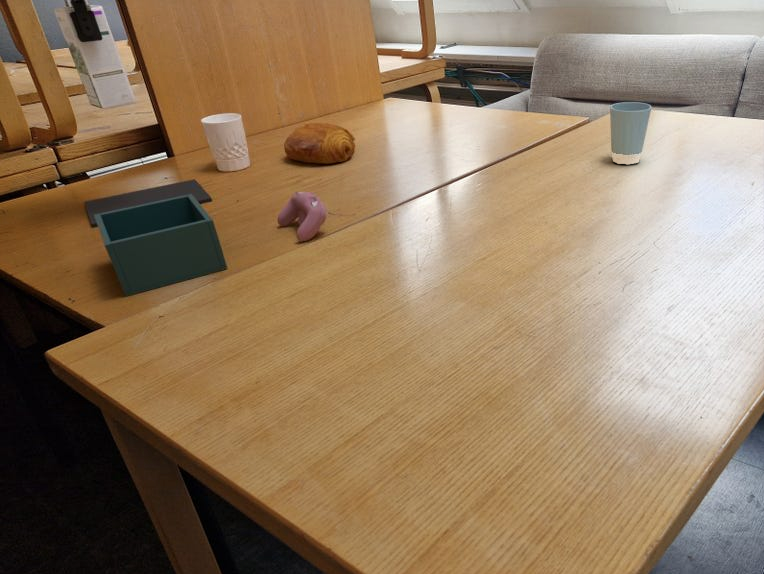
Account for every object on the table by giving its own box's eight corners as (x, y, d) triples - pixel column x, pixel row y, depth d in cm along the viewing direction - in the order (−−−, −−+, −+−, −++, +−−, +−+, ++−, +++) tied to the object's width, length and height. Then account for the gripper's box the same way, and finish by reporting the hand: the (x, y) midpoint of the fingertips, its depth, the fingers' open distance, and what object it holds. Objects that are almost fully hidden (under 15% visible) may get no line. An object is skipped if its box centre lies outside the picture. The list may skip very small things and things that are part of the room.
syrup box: (137, 103, 104) (104, 4, 96) (101, 110, 100) (63, 8, 92) (124, 99, 107) (91, 3, 99) (89, 106, 104) (51, 7, 95)
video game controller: (323, 247, 98) (335, 204, 96) (296, 242, 95) (308, 197, 93) (300, 228, 104) (310, 188, 102) (274, 223, 101) (284, 181, 99)
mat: (92, 227, 105) (91, 224, 105) (84, 204, 115) (83, 201, 115) (212, 201, 114) (211, 197, 113) (195, 182, 123) (194, 179, 123)
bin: (126, 296, 83) (104, 245, 79) (113, 262, 93) (93, 214, 88) (227, 269, 89) (212, 219, 85) (206, 239, 99) (191, 193, 94)
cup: (604, 166, 120) (609, 110, 114) (606, 155, 126) (610, 101, 121) (644, 168, 119) (651, 111, 113) (644, 156, 125) (650, 102, 119)
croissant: (328, 180, 127) (324, 142, 122) (273, 160, 133) (267, 123, 128) (372, 159, 137) (371, 123, 132) (320, 141, 143) (316, 106, 138)
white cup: (261, 164, 132) (249, 115, 126) (231, 174, 126) (217, 124, 121) (236, 159, 135) (224, 112, 130) (207, 169, 130) (192, 120, 124)
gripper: (8, -97, 92) (59, 37, 103) (8, -106, 80) (66, 47, 90) (65, -97, 96) (109, 32, 106) (73, -106, 83) (122, 41, 94)
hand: (89, 37), depth 98 cm, fingers closed on syrup box, 6 cm apart
